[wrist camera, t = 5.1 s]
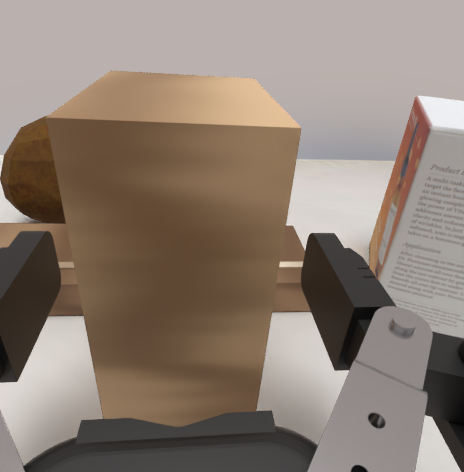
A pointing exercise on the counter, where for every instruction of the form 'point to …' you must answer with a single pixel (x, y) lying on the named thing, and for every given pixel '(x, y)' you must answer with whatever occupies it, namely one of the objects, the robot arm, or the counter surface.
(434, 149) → the small box
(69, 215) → the tan block
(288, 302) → the walnut board
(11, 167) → the potato
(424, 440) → the counter surface
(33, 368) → the counter surface
